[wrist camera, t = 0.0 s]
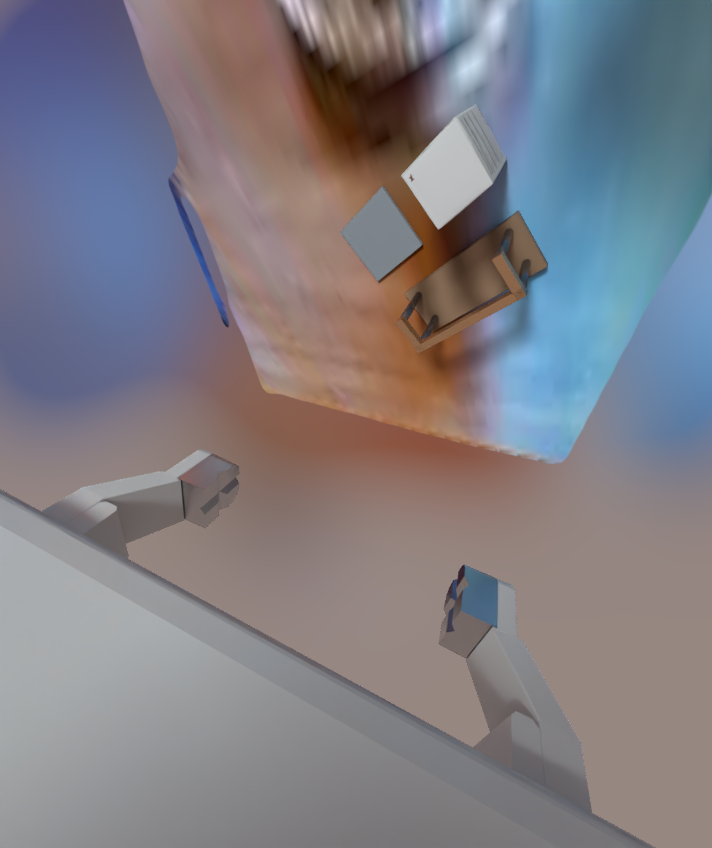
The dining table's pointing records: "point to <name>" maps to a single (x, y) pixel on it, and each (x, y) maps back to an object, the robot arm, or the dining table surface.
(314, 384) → the dining table surface
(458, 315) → the brown board
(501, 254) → the wooden post stand
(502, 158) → the supplement box
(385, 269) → the mat
